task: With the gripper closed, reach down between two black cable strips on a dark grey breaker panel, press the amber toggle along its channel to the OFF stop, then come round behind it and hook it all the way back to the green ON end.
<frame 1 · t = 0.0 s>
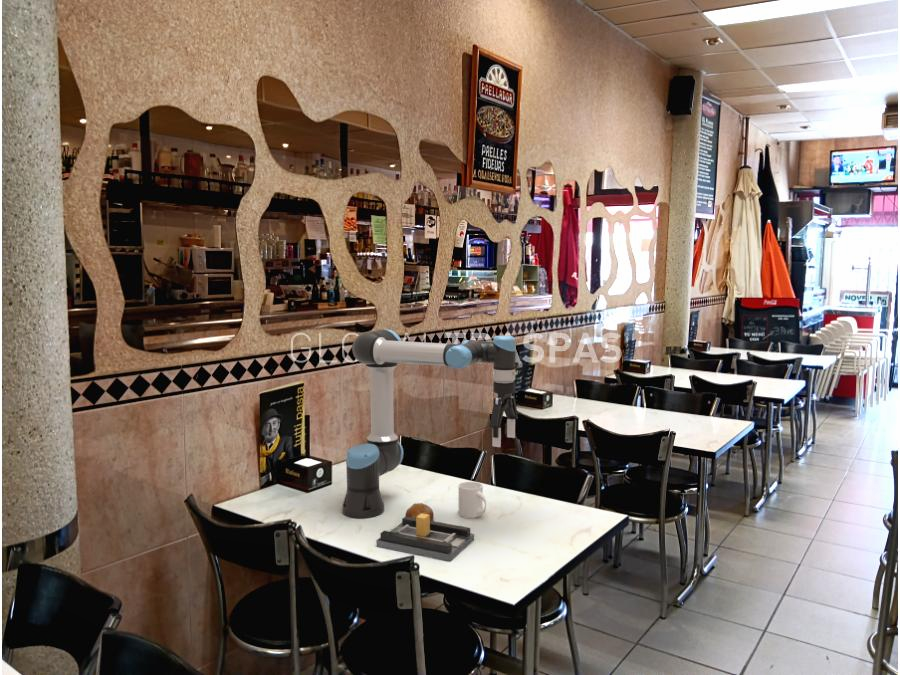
hand: (503, 441, 241), 28 cm above the table, fingers open, 13 cm apart
panel: (425, 543, 225), on the table
bread roll: (419, 522, 244), on the table
lever: (423, 526, 225), point 5 cm above the table, slide at 4.0 cm
mug: (473, 516, 249), on the table
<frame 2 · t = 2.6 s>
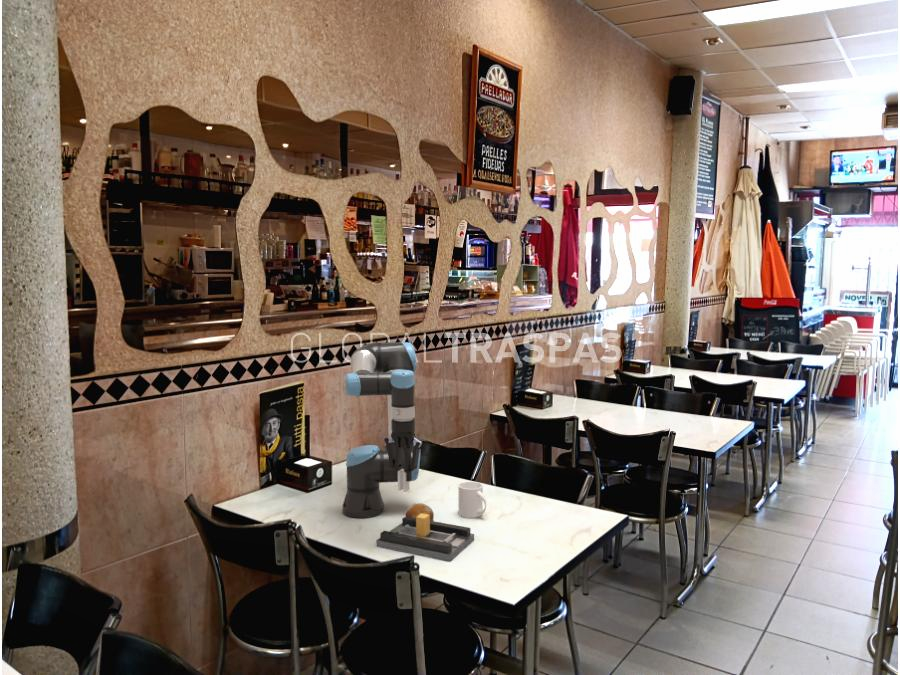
hand: (403, 490, 226), 16 cm above the table, fingers closed
nothing on the table moved.
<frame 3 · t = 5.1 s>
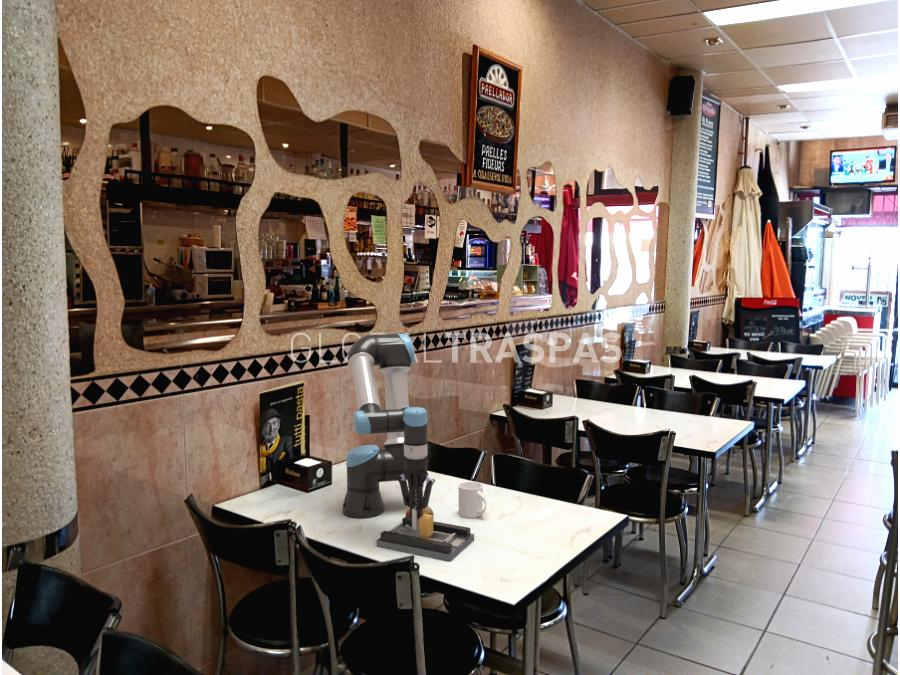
hand: (416, 527, 226), 5 cm above the table, fingers closed
lever: (426, 526, 224), point 5 cm above the table, slide at 5.2 cm, touching gripper
everything else where it was.
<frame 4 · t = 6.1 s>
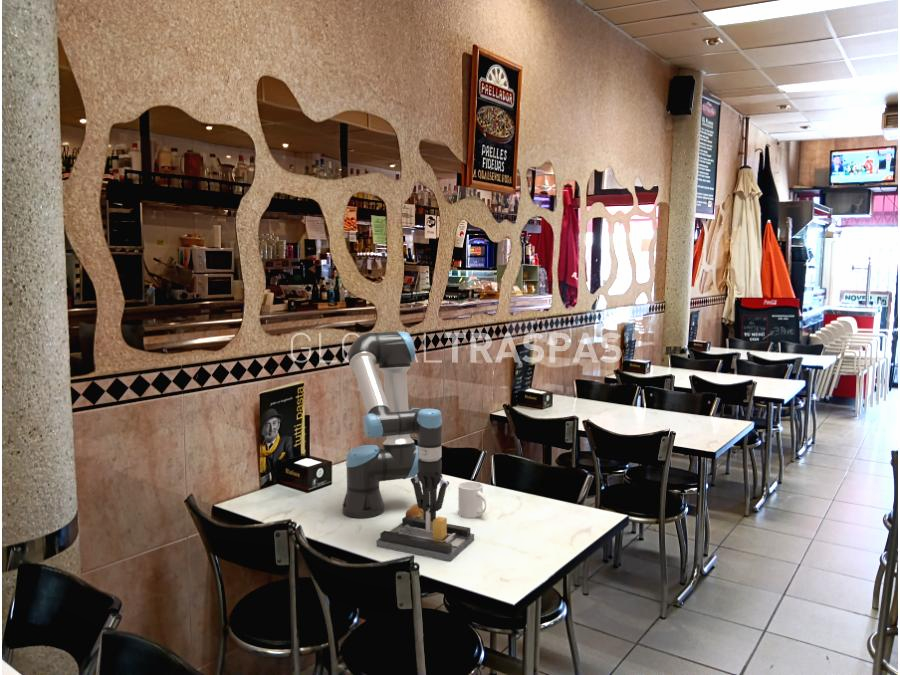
hand: (429, 530, 223), 5 cm above the table, fingers closed
lever: (440, 529, 222), point 5 cm above the table, slide at 10.1 cm, touching gripper
everything else where it was.
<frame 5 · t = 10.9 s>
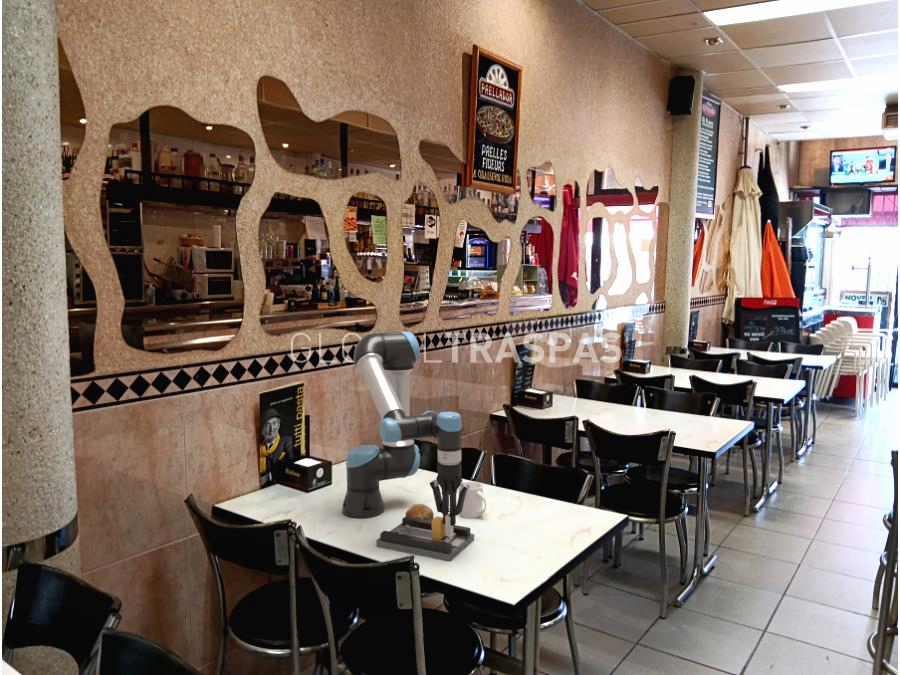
hand: (449, 534, 221), 4 cm above the table, fingers closed
lever: (438, 528, 222), point 5 cm above the table, slide at 9.6 cm, touching gripper
everything else where it was.
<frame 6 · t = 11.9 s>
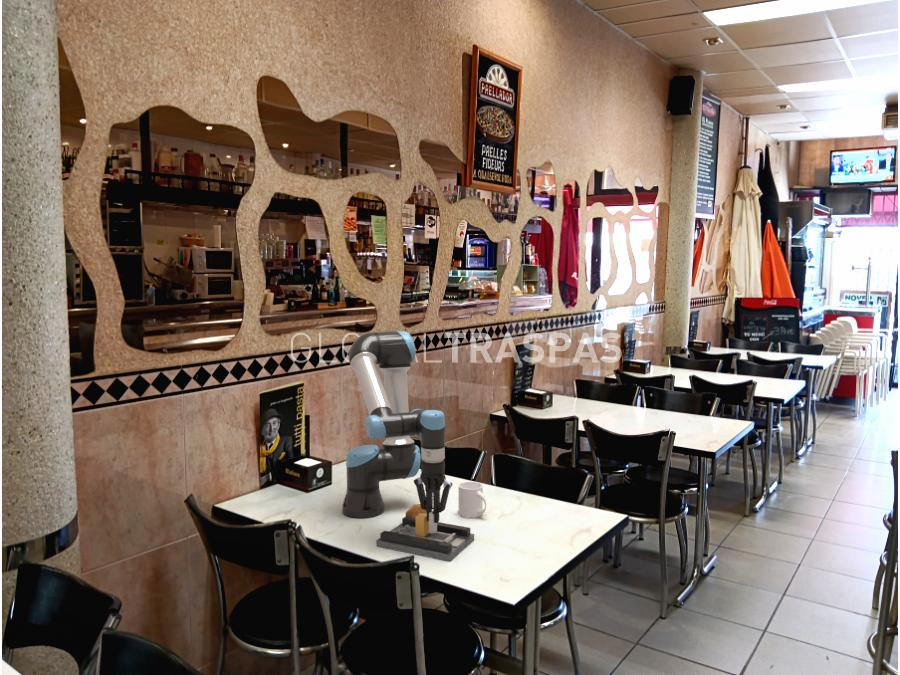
hand: (433, 531, 223), 4 cm above the table, fingers closed
lever: (422, 525, 225), point 5 cm above the table, slide at 3.8 cm, touching gripper
everything else where it was.
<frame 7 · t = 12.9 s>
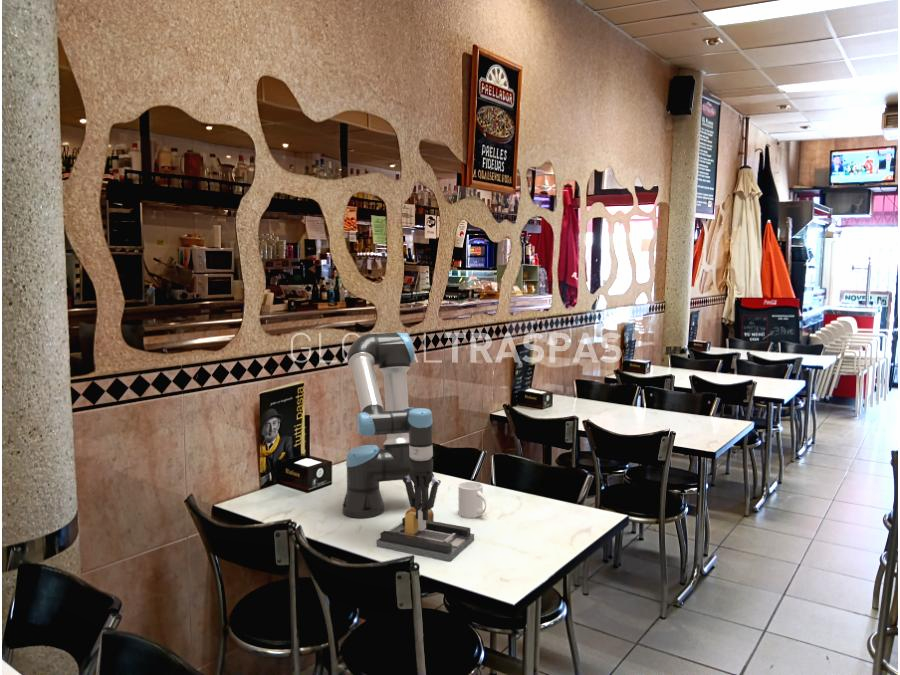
hand: (422, 529, 225), 4 cm above the table, fingers closed
lever: (411, 524, 226), point 5 cm above the table, slide at -0.1 cm, touching gripper
everything else where it was.
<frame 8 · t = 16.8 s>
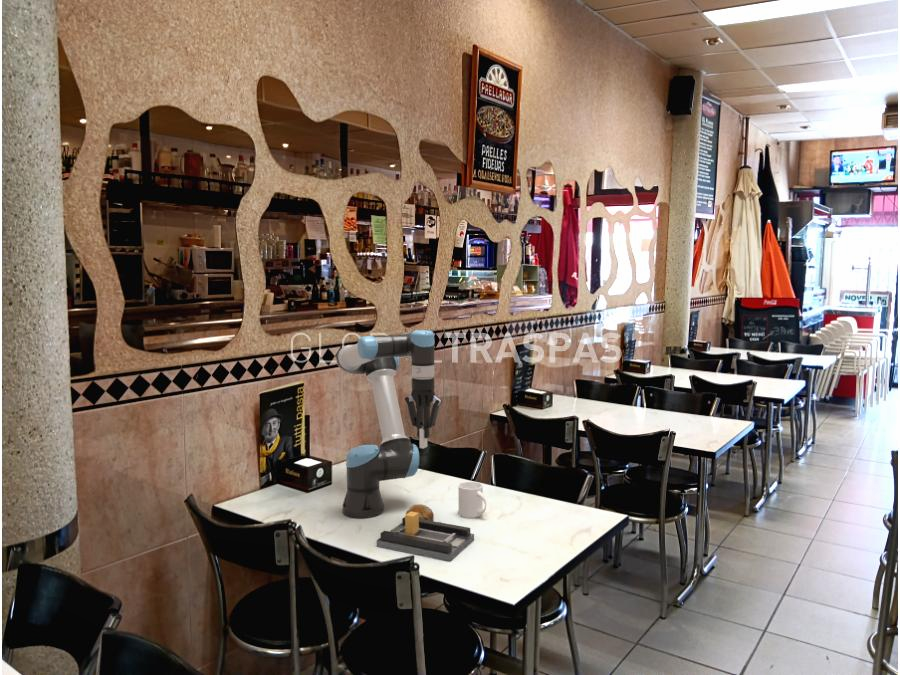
hand: (423, 447, 233), 28 cm above the table, fingers closed
lever: (412, 524, 226), point 5 cm above the table, slide at 0.0 cm
at the end: lever slide at 0.0 cm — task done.
